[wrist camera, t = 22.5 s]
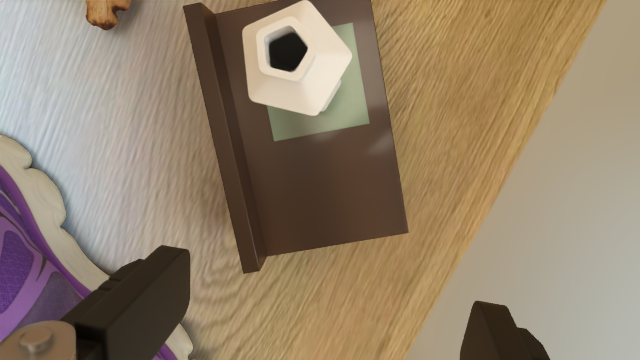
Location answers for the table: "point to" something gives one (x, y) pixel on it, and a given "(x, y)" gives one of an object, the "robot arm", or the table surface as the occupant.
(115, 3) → the lashed bone hook
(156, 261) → the robot arm
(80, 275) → the running shoe
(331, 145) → the shelf
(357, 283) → the table surface
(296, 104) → the cream faceted vase
